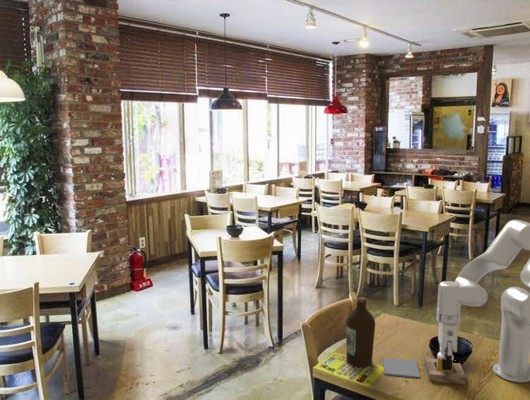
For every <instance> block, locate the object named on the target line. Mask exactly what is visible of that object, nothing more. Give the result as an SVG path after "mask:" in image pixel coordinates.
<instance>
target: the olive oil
mask: <svg viewBox="0 0 530 400" xmlns="http://www.w3.org/2000/svg"><path fill="white" fill-rule="evenodd" d="M375 330H376V321H375V317H374V316H373V314H372V313H371V312H370V311H369V310H368V309H367V297H365V296H357V298H356V307H355V308H354V309H353V310H352V311H350V312H349V313H348V315H347V317H346V319H345V333H346V335H345V337H346V338H345V339H346V345H345V346H346V362H347V364H348V365H350V366H352V367H355V368H367V367H370V366H372V364H373V363H372V362H373V353H374V351H373V350H374V344H375V343H374V342H375V332H376V331H375Z"/></svg>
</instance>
